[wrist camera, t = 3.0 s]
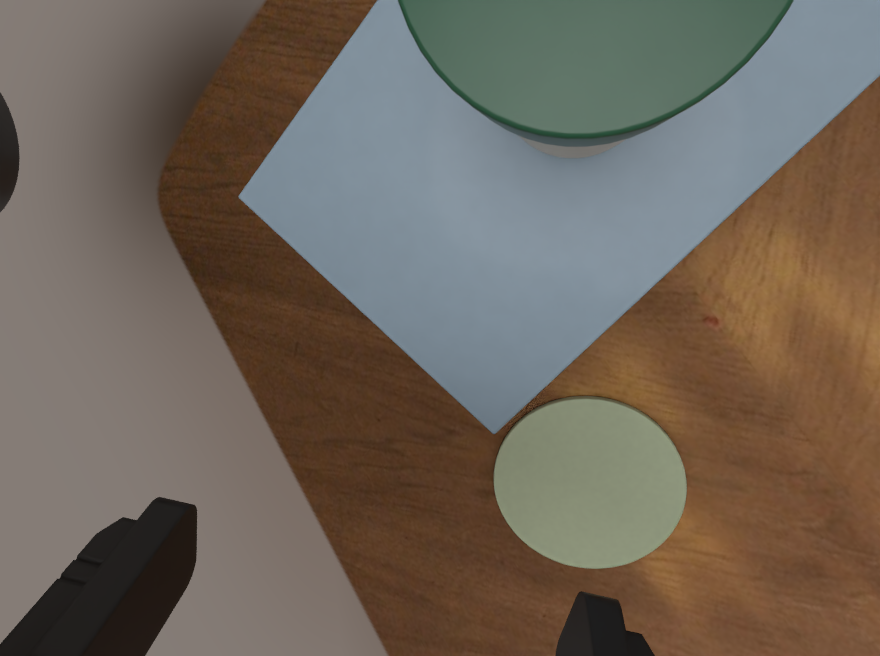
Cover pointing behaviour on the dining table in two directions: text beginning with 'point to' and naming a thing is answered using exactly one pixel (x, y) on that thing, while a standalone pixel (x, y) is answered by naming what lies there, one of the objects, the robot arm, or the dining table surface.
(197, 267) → the dining table surface
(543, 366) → the shelf
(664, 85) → the spice bottle
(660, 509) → the mat
